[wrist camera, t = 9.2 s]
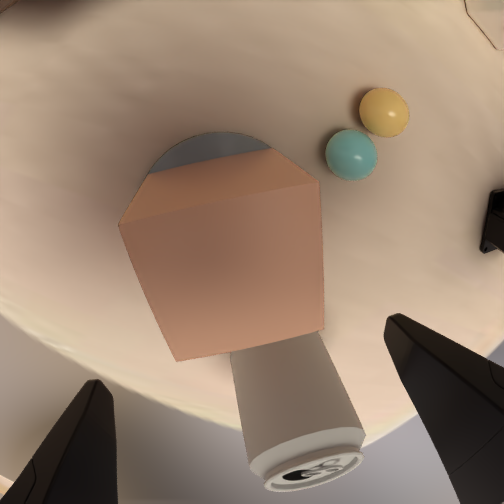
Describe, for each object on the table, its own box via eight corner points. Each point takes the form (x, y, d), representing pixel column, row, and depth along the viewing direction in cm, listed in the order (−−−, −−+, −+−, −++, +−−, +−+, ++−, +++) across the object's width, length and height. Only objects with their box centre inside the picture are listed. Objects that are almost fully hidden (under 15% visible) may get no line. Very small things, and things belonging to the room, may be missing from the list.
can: (209, 343, 23) (227, 489, 12) (292, 294, 22) (356, 440, 11) (260, 383, 26) (290, 500, 16) (330, 344, 25) (385, 460, 15)
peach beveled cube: (272, 148, 16) (318, 181, 10) (285, 255, 20) (323, 329, 14) (148, 174, 16) (117, 225, 10) (179, 278, 19) (176, 361, 13)
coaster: (292, 119, 16) (295, 120, 15) (306, 267, 21) (308, 270, 20) (118, 155, 15) (116, 156, 15) (164, 298, 20) (164, 301, 20)
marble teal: (360, 124, 16) (386, 131, 14) (362, 170, 18) (387, 184, 15) (315, 128, 16) (337, 135, 14) (319, 176, 18) (340, 191, 15)
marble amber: (388, 87, 15) (417, 89, 13) (391, 132, 17) (419, 140, 14) (348, 87, 15) (374, 88, 13) (352, 134, 17) (378, 143, 14)
